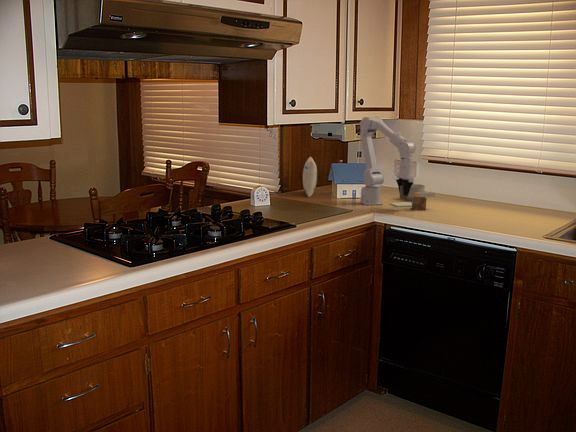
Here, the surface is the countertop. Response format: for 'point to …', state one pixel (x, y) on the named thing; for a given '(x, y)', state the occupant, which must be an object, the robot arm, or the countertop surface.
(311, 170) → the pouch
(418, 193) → the steel bar
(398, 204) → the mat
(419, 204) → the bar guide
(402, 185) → the plug
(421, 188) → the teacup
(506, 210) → the countertop surface
